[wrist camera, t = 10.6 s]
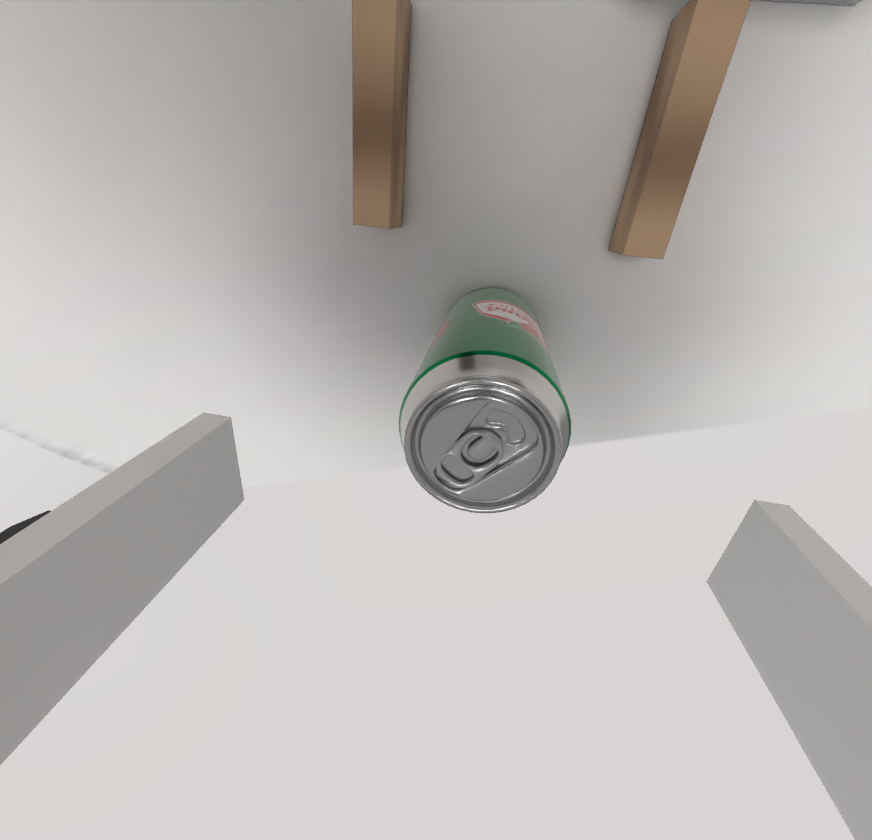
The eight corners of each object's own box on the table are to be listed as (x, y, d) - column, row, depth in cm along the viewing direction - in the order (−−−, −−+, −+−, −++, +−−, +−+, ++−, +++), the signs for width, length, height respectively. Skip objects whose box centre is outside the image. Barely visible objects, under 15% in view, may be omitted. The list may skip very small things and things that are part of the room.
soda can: (558, 333, 21) (620, 455, 10) (490, 395, 23) (482, 550, 12) (489, 263, 20) (478, 320, 9) (424, 336, 22) (354, 450, 11)
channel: (372, 1, 16) (352, -33, 14) (716, 23, 15) (753, -10, 13) (369, 223, 20) (353, 224, 17) (643, 254, 19) (662, 259, 16)
